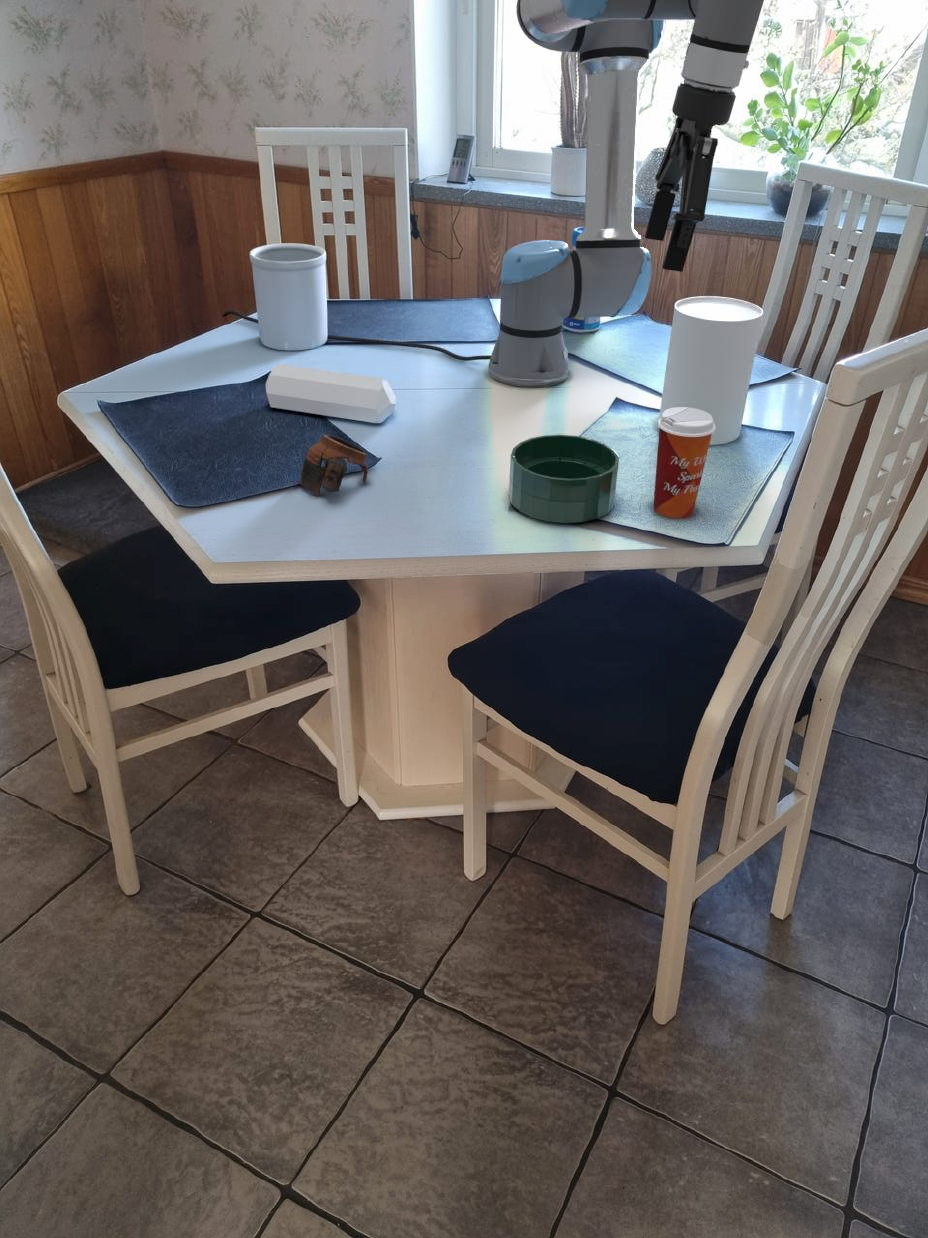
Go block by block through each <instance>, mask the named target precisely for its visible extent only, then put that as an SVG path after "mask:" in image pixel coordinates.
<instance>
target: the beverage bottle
mask: <svg viewBox="0 0 928 1238" xmlns="http://www.w3.org/2000/svg"><path fill="white" fill-rule="evenodd" d="M584 228H585V226H579V227H575V228H573V230H572V232H571V233H572V234H571V236H572V237H571V246H572V248H573V250H575V249H576V238H577V237H578V236H579V235H580V234H581V233H582V232H583V230H584ZM600 327H601V317H581V318H564V319H563V325H562V328H563V329H565V330H566V331H569V332H573V333H582V334H583V333H592V332H596V331H598V330H599V329H600Z"/></svg>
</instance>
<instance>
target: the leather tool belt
mask: <svg viewBox="0 0 928 1238" xmlns="http://www.w3.org/2000/svg"><path fill="white" fill-rule="evenodd" d="M368 454H369V453H368V452H366V451H365V450H364V449H362V448H361V447H359V446H357V445H354V444H353V443H351V442H349V441H346V440H344V439H342V438H339V437H338V436H334V435H331V434H326V433H323V434H322V435H321V439H320V440H319V441H317V442H316V443H314V444H312V446H311V447H309V449H308V451H307V452H306V456H305V458H304V460H303V464H302V469H301V471H300V482H299V484H300V486H301V487H302V489H304V490H306V491H307V492H309V493H311V494H313V495H315V496H320V494H321V489H323V490H324V491H326V492H327V493H336V492H339V491H340V488H341V486H342V483H343V479H344V478H345V475H346V473H347V471H348V466H347V464H348V463H349V464H350V463H351V464H354V465H358V466H359V468H360V469H361V470H362V471H363V475H362V478H361V479H362V482H363V483H365V482H367V478H368V474H369V468H368V464H367V460H366V459H367V457H368ZM345 459H346V460H345ZM323 461H324V465H322V463H323Z"/></svg>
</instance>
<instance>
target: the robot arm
mask: <svg viewBox="0 0 928 1238" xmlns="http://www.w3.org/2000/svg"><path fill="white" fill-rule="evenodd" d="M764 2H765V0H517V1H516V7H515V8H516V18H517V21H518V22H517V23H518V24H519V27H520V29H521V31H522V32H523V34H524V35H525V36H526V37H527V38H528V39H529V40H530V41H532V42H533V43H534V44H535V45H538V46H539V47H541V48H544V49H545V50H549V51H555V52H558V53H559V52H560V53H562V52H563V53H579V68H580V69H581V70H582V71H583V72H584V74H585V75H586V76H587V110H586V111H587V116H586V117H587V119H586V123H587V124H586V156H585V157H586V158H585V191H584V193H585V194H584V195H585V196H584V197H585V198H584V227H585V228H584V230H583V232H582V233H581V234H580V235H579V236H578V237H577V238H576V249H575V250H574V249H572V250H570V248H569V245H568V244H567V243H566V241H565V242H564V241H562V240H556V239H553V240H549V239H539V240H532V241H526V242H523V243H519V244H517V245H514V246H512V247H511V248H509V249H508V250H507V251H506V252H505V253H504V255H503V258H502V264H501V272H500V278H499V279H500V306H499V307H500V308H499V332H498V336H497V338H496V341H495V343H494V346H493V348H492V349H493V350H492V352H491V354H490V355H489V354H488V355H473V356H463V355H459V354H456V353H454V352H452V351H450V350H448V349H446V348H443V347H440V346H436V345H431V344H430V345H429V344H423V343H413V342H406V341H395V340H383V339H374V338H362V337H352V336H343V335H342V336H341V335H334V334H327V340H336V341H344V342H345V341H346V342H354V343H355V342H356V343H366V344H374V345H375V344H377V345H388V346H397V347H407V348H417V349H425V350H431V351H435V352H439V353H442V354H445V355H446V356H448V357H450V358H453V359H455V360H459V361H463V362H464V361H465V362H471V361H483V360H484V361H485V360H489V362H488V374H489V376H490V377H491V378H492V379H493V380H495V381H497V382H500V383H502V384H506V385H508V386H509V385H511V386H514V387H523V388H524V387H525V388H542V387H548V386H550V387H551V386H554V385H557V384H560V383H562V382H564V381H566V380H567V379H568V377H569V374H570V372H569V371H570V362H569V358H568V357H569V352H568V348H567V347H566V346H565V341H564V338H563V319H564V318H581V317H600V318H606V317H607V318H612V319H613V318H617V317H624V316H631V315H633V314H635V313H636V312H638V311H639V310H640V308H641V307H642V306H643V303H644V301H645V300H646V297H647V294H648V291H649V287H650V283H651V278H652V277H651V276H652V262H651V259H652V257H651V254H650V252H649V250H648V249H647V248H644V247H643V246H642V247H641V243H642V242H641V241H642V237H641V235H639V234H638V232H637V231H636V230H635V229H634V206H635V184H636V183H635V182H636V181H635V180H636V161H637V160H636V158H637V138H638V137H637V136H638V134H637V133H638V113H639V112H638V110H639V89H640V88H639V87H640V75H641V73H642V72H643V71H644V69H645V68H646V67H647V66H648V65H649V63H650V54H652V53H654V52H656V51H657V49H658V48H659V46H660V45H661V40H662V32H663V31H664V21H693V26H692V31H691V34H690V36H689V40H688V44H687V47H686V51H685V55H684V59H683V63H682V67H681V70H680V76H681V78H682V79H683V81H680V82H679V83H678V85H677V89H676V91H675V97H674V100H673V105H672V108H671V111H672V114H673V115H674V116H676V118H675V124H674V127H673V130H672V134H671V137H670V138H669V141H668V143H667V146H666V149H665V151H664V154H663V157H662V160H661V162H660V164H659V166H658V169H657V172H656V175H655V179H654V180H655V182H656V191H655V195H654V199H653V203H652V207H651V211H650V215H649V219H648V222H647V225H646V226H647V227H646V230H645V235H644V238H645V239H647V240H653V241H660V242H664V240H665V237H666V232H667V228H668V226H669V221H670V217H671V214H672V211H673V207H674V203H675V199H676V196H677V194H676V193H679V192H680V198H679V199H680V200H679V202H680V203H679V209H678V210H679V212H675V214H674V215H673V217H672V218H673V220H674V223H673V227H672V230H671V234H670V236H669V237H670V238H669V241H668V244H667V248H666V252H665V256H664V260H663V264H662V267H661V268H662V269H663V270H665V271H666V270H667V271H673V272H679V273H683V272H684V269H685V265H686V261H687V258H688V254H689V252H690V248H691V244H692V240H693V237H694V233H695V230H696V227H697V224H698V223H702V222H703V221H704V220H705V216H706V208H707V204H708V203H707V201H708V196H709V191H710V184H711V176H712V171H713V164H714V160H715V159H714V158H715V155H716V151H717V146H718V145H719V140H718V138H717V137H711V136H712V129H713V127H715V126H725V125H727V124H728V123H729V121H730V118H731V115H732V112H733V108H734V104H735V102H736V99H737V98H736V97H737V96H736V92H734V91H733V90H734V89H737V88H738V87H739V86H740V82H741V79H742V76H743V72H744V70H747V69H748V68H749V66H750V61H748V60H747V58H748V55H749V51H750V49H751V45H752V41H753V39H754V35H755V32H756V28H757V25H758V22H759V18H760V15H761V12H762V8H763V6H764ZM680 181H681V189H680ZM229 315H235V316H237V317H239V318H241V319H243V320H245V321H248V322H251V323H255V324H258V318H254V317H251V316H247V315H245V314H243V313H241V312H239V311H236V310H235V309H234V310H232V309H229V310H226V311H224V312H223V314H222V315H221V317H223V318H226V317H227V316H229Z"/></svg>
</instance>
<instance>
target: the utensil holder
mask: <svg viewBox="0 0 928 1238" xmlns="http://www.w3.org/2000/svg"><path fill="white" fill-rule="evenodd" d="M249 261H250V263H251V267H252V279H253V288H254V296H255V305H256V316H257V319H258V323H257V324H258V330H259V339H260V342H261V344H262V345H263V346H265V347H267V348H269V349H273V350H279V351H288V352H289V351H290V352H291V351H293V352H294V351H295V352H296V351H307V350H311V349H316V348H319V347H322V346H323V345H325V344H326V343H327V342H328V339H327V335H328V301H327V300H328V299H327V298H328V297H327V278H326V277H327V274H326V273H327V272H326V261H327V252H326V250H325V248H322V247H320V246H317V245H316V246H315V245H313V244H306V243H296V242H295V243H294V242H293V243H291V242H290V243H287V242H285V243H283V242H282V243H272V244H271V243H270V244H265V245H261V246H258V247H254V248H252V249H251V250H250V251H249Z"/></svg>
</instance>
